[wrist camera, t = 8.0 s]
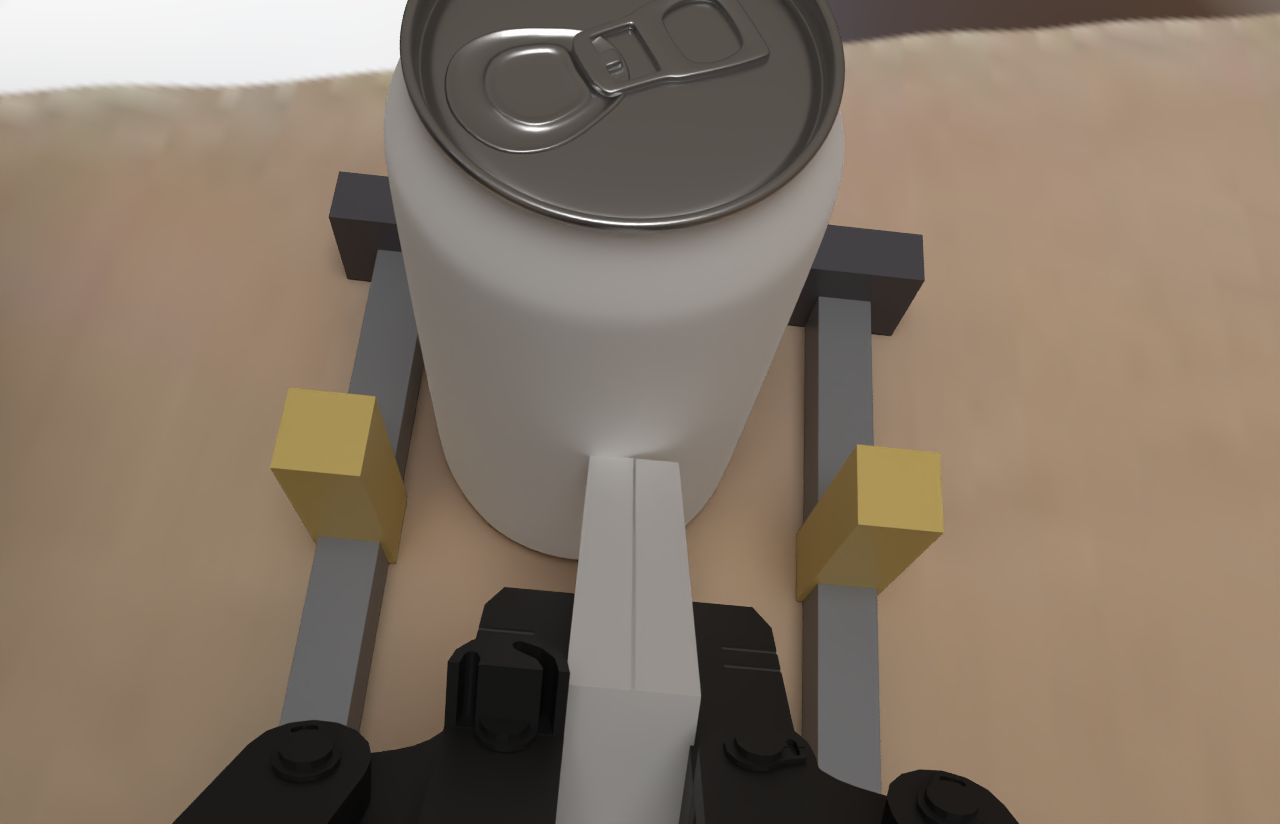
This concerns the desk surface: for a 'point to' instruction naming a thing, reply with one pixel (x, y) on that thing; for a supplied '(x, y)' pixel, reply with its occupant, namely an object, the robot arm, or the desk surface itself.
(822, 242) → the u-shaped rail frame
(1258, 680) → the desk surface
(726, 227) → the can
